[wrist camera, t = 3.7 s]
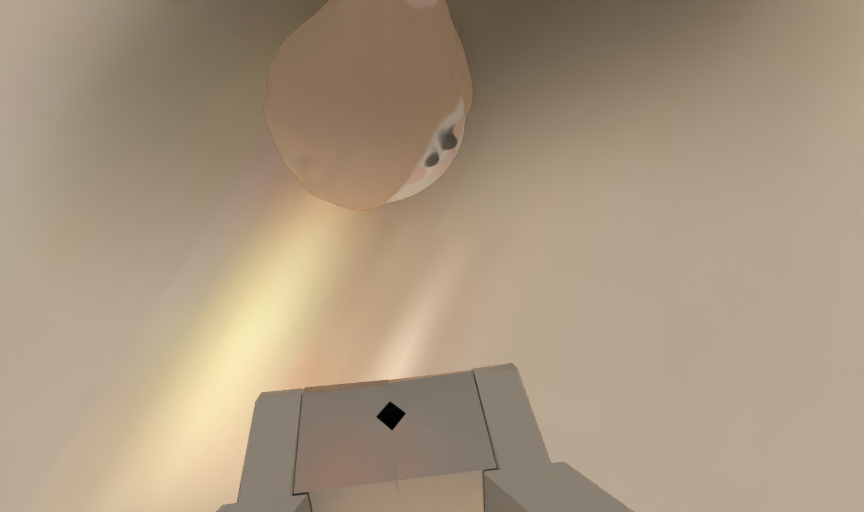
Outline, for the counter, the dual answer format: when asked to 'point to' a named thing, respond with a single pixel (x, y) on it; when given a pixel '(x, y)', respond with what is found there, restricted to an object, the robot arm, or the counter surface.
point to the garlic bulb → (369, 100)
